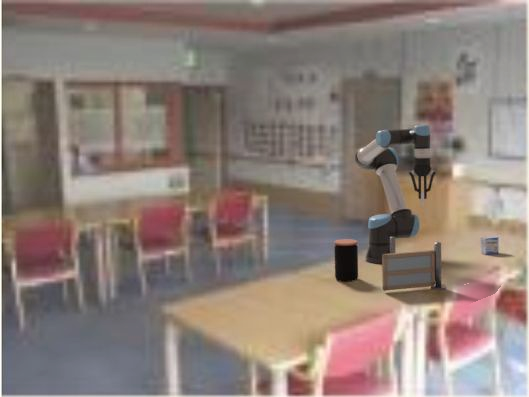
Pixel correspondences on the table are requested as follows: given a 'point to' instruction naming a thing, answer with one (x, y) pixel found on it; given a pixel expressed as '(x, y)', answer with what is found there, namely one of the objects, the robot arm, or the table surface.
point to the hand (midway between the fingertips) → (422, 205)
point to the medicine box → (489, 245)
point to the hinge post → (438, 268)
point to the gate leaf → (408, 270)
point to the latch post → (392, 245)
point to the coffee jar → (346, 260)
